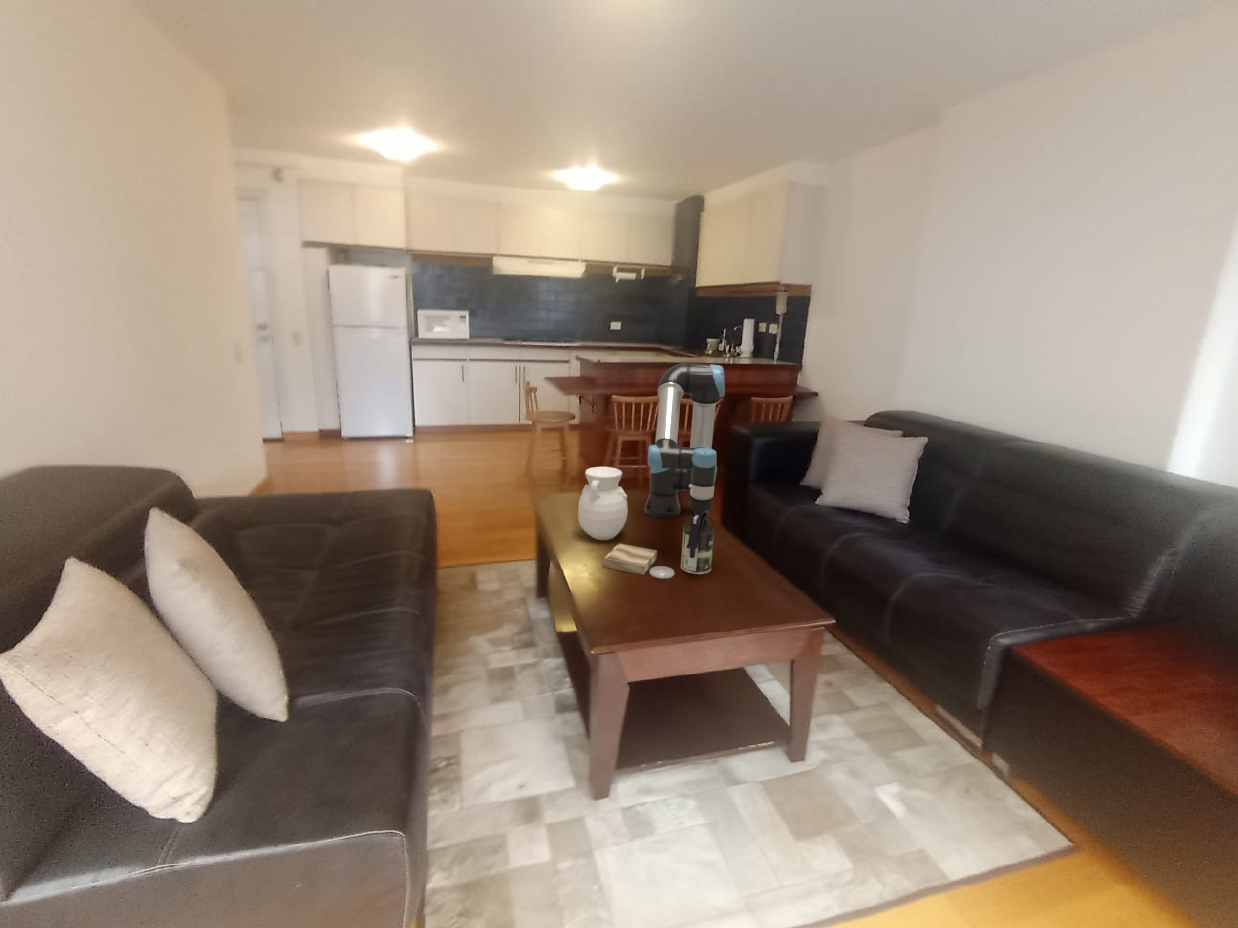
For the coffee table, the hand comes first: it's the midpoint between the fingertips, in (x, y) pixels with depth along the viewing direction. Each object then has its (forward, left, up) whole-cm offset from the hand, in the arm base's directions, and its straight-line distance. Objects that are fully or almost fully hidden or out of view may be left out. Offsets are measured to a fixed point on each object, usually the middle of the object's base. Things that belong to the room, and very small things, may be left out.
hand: (696, 559), depth 192 cm
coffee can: (0, 0, -3) cm, 3 cm away
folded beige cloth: (+6, -21, -3) cm, 22 cm away
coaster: (+9, -9, -3) cm, 13 cm away
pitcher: (-12, -39, -3) cm, 41 cm away
